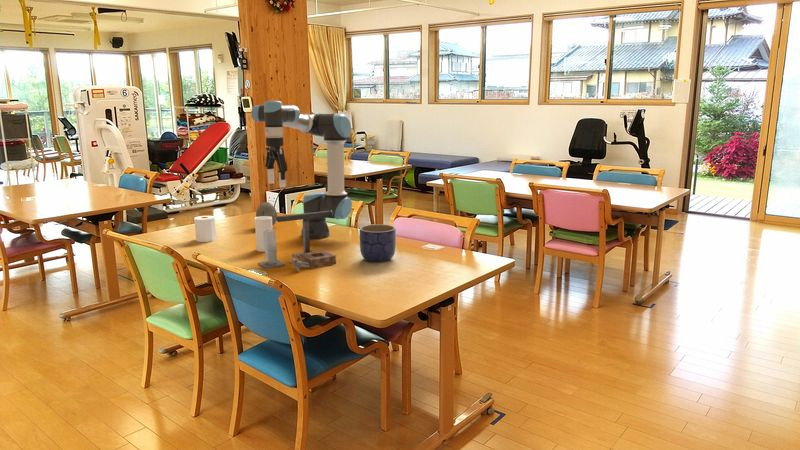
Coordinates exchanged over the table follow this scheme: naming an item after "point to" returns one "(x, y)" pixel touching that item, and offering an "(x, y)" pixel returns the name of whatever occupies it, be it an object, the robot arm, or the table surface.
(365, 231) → the planter
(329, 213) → the dark grey bar
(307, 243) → the handle post
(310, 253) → the eye block
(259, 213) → the decorative egg
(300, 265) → the elephant figurine
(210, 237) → the toilet paper
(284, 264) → the mat
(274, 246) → the peg
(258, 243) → the cup
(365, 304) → the table surface
